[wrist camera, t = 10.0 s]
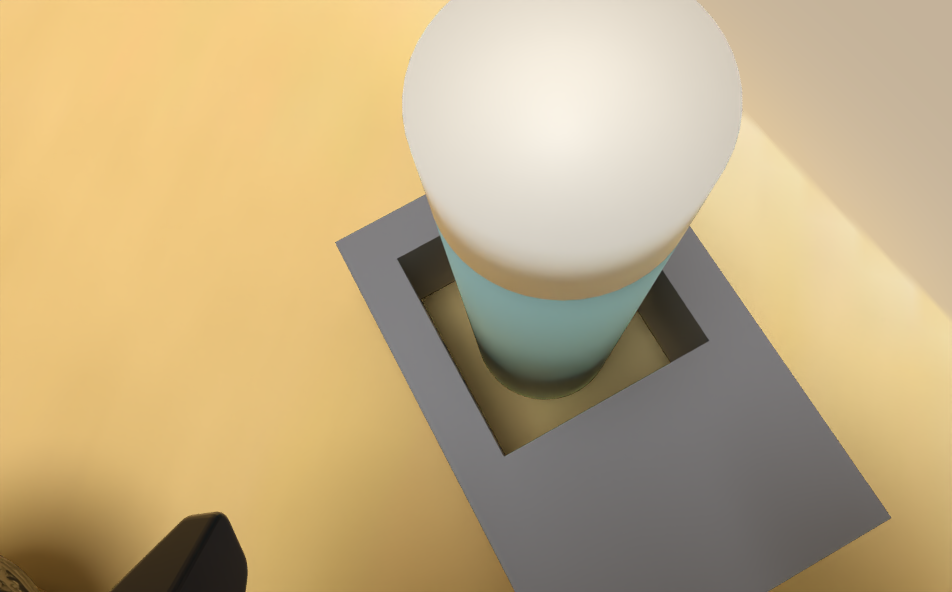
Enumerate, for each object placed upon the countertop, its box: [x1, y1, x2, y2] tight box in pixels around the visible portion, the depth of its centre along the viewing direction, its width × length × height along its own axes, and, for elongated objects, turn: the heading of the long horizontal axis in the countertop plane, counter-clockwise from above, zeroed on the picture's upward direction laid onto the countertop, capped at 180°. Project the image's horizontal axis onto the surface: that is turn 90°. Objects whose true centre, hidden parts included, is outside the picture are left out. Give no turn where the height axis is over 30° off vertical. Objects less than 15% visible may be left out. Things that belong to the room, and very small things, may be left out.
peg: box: [402, 0, 742, 399], centre depth 14 cm, size 4×4×13 cm
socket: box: [335, 194, 891, 592], centre depth 18 cm, size 12×8×4 cm, turn 29°
